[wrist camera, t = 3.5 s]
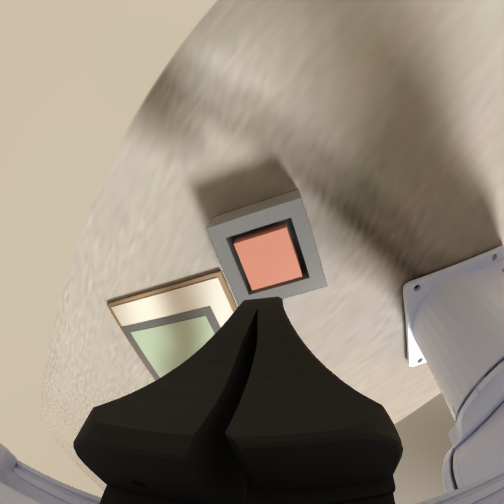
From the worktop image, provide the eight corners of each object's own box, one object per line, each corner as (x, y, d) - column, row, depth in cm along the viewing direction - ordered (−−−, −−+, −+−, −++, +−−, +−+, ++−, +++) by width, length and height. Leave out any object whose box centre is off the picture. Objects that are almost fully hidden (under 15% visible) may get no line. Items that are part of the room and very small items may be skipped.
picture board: (221, 270, 19) (220, 272, 19) (273, 387, 23) (273, 390, 22) (107, 303, 21) (105, 305, 21) (172, 401, 24) (171, 403, 24)
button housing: (298, 189, 17) (301, 197, 14) (322, 267, 18) (327, 286, 16) (215, 216, 18) (205, 228, 15) (244, 289, 19) (240, 310, 17)
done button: (286, 221, 16) (286, 227, 15) (300, 266, 17) (302, 276, 16) (236, 236, 16) (233, 243, 15) (253, 280, 17) (252, 290, 16)
